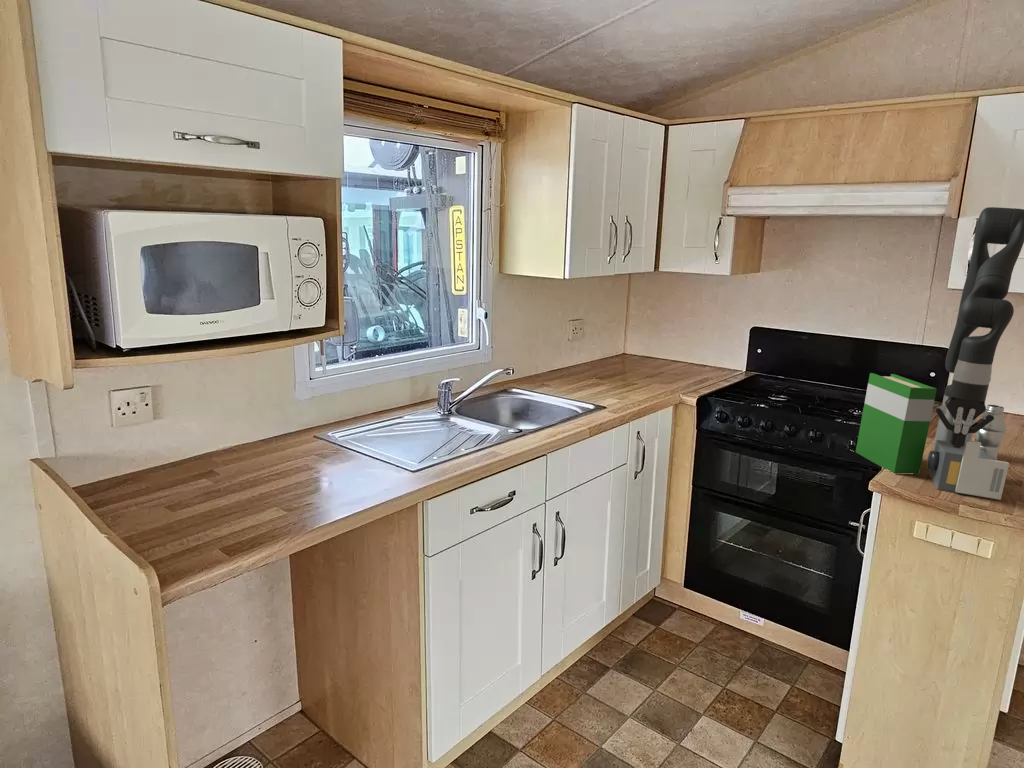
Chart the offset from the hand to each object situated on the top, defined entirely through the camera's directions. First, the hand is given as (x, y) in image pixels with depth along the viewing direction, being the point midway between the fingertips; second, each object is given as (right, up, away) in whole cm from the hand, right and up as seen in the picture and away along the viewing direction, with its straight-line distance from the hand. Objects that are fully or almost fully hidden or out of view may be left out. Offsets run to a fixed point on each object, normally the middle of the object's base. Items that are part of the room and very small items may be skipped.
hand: (956, 447), depth 171 cm
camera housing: (+5, -11, +8) cm, 14 cm away
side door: (+5, -12, 0) cm, 13 cm away
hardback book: (-5, -7, +23) cm, 25 cm away
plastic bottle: (+17, -10, +16) cm, 25 cm away
